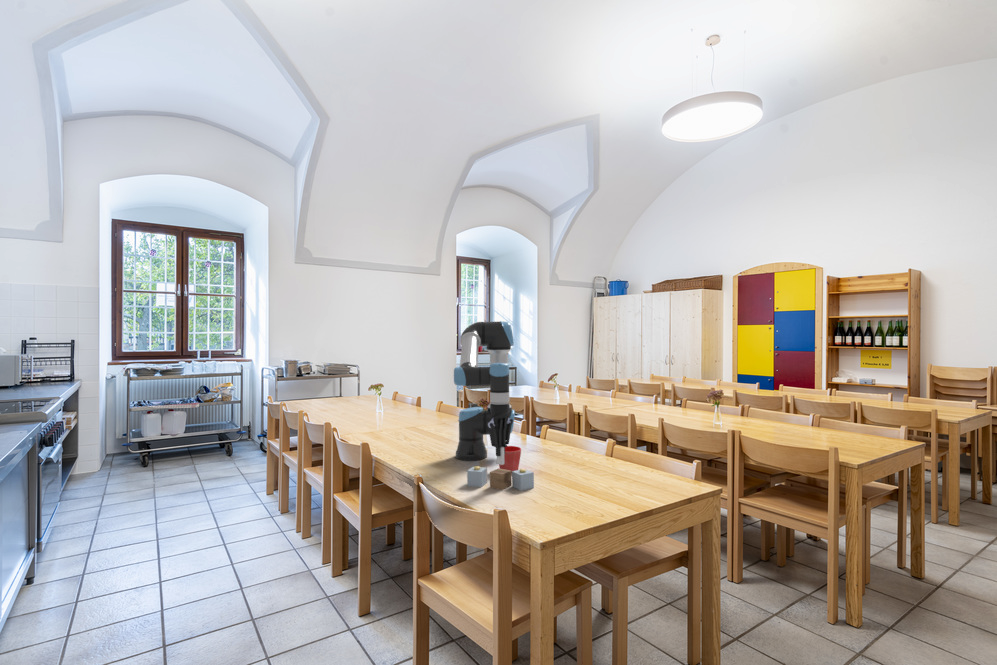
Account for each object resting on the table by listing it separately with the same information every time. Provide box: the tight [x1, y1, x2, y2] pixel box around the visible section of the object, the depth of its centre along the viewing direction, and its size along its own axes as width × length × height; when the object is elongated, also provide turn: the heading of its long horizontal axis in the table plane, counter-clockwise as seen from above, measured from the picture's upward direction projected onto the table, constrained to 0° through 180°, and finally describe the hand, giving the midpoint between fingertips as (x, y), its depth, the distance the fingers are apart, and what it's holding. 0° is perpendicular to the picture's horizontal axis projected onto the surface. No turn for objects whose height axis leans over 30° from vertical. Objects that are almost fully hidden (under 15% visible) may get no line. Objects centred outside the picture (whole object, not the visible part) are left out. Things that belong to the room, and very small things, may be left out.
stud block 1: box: [466, 465, 488, 488], centre depth 198 cm, size 6×6×7 cm
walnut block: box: [489, 468, 512, 491], centre depth 194 cm, size 6×6×6 cm
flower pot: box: [498, 445, 522, 474], centre depth 216 cm, size 11×11×10 cm
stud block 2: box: [511, 468, 535, 492], centre depth 193 cm, size 6×6×7 cm
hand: (500, 463), depth 194 cm, fingers closed
